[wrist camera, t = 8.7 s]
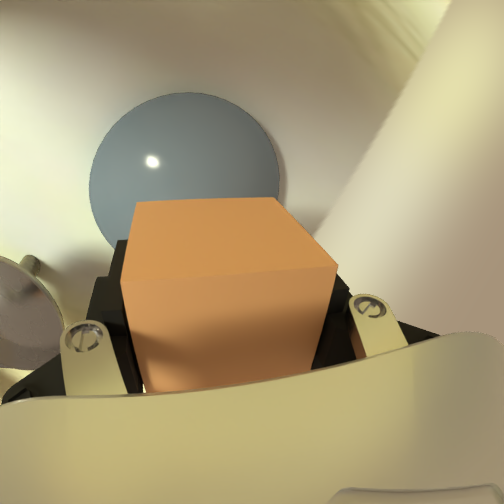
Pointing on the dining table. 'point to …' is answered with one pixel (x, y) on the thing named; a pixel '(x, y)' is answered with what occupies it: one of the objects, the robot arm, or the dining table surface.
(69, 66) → the dining table surface
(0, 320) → the balance
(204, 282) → the block
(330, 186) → the dining table surface
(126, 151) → the dish
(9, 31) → the dining table surface
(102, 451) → the robot arm
